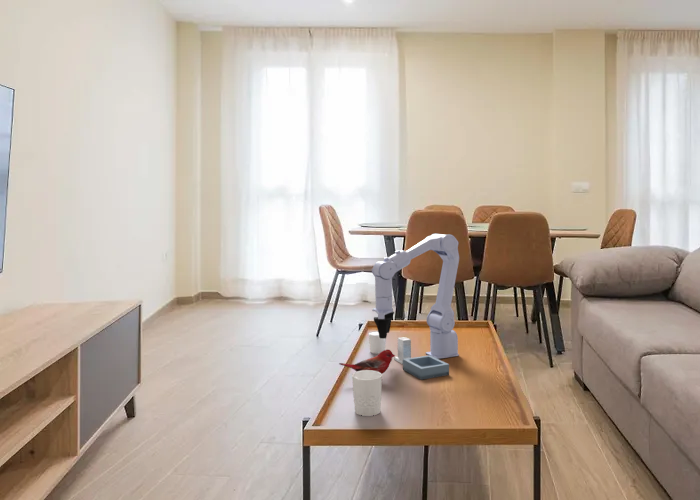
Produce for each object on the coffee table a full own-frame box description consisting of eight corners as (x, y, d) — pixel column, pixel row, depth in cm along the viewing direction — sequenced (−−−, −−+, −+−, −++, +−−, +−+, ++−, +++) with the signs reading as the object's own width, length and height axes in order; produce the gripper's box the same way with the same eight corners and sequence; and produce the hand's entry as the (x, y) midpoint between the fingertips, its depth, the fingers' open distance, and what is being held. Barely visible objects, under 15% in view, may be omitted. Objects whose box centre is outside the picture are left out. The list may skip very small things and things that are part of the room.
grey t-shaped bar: (406, 357, 184) (406, 335, 184) (414, 362, 179) (414, 339, 178) (394, 359, 182) (393, 337, 182) (402, 364, 177) (402, 341, 176)
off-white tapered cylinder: (385, 354, 189) (385, 335, 188) (367, 353, 190) (366, 335, 190) (387, 349, 196) (387, 331, 195) (370, 348, 197) (369, 330, 197)
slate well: (429, 365, 175) (429, 355, 175) (449, 374, 165) (449, 364, 164) (403, 369, 171) (402, 359, 171) (421, 379, 160) (421, 368, 160)
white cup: (351, 406, 140) (350, 370, 139) (380, 405, 140) (379, 369, 140) (354, 418, 132) (353, 380, 131) (384, 416, 133) (384, 379, 132)
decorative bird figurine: (396, 382, 159) (396, 350, 158) (339, 384, 157) (338, 352, 157) (395, 379, 161) (394, 348, 161) (338, 381, 160) (338, 350, 159)
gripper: (375, 292, 183) (376, 329, 185) (368, 300, 169) (369, 340, 170) (395, 292, 182) (395, 330, 183) (389, 300, 168) (390, 341, 169)
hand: (384, 335), depth 177 cm, fingers open, 7 cm apart
